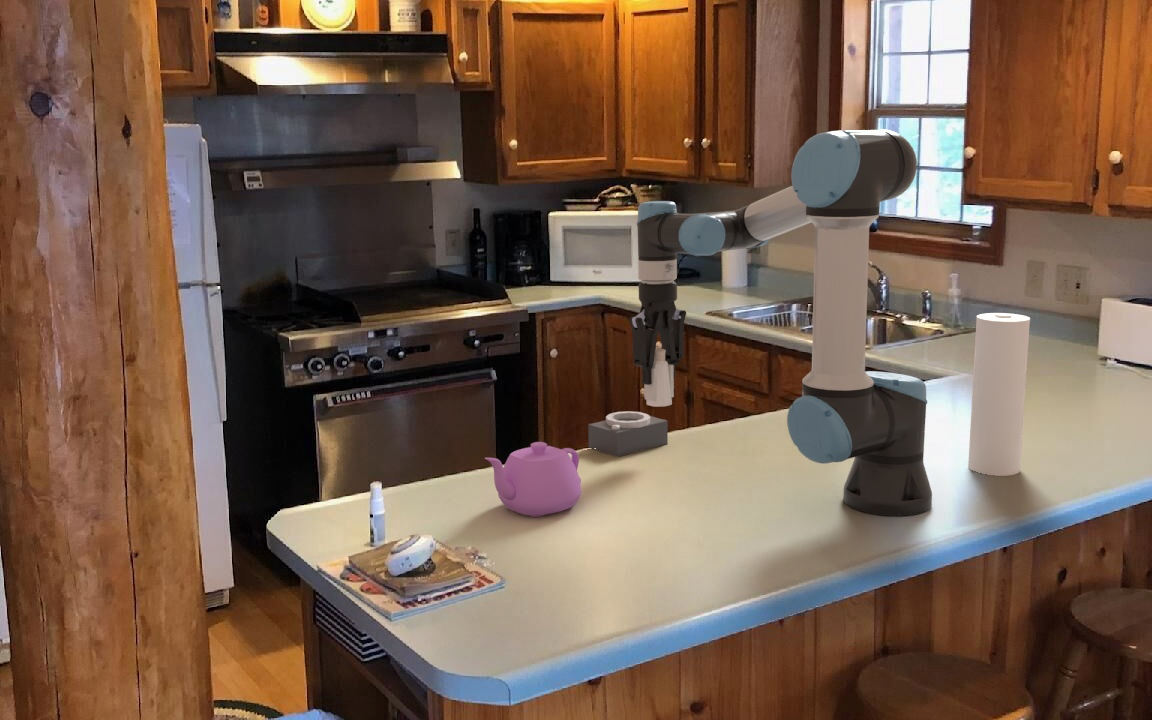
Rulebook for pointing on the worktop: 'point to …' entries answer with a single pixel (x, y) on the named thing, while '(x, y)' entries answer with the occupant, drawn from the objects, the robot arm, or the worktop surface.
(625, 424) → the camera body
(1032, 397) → the worktop surface
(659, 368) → the salt shaker
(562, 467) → the teapot
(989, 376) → the cylinder container
